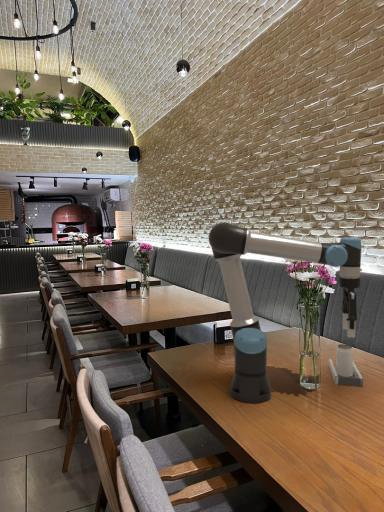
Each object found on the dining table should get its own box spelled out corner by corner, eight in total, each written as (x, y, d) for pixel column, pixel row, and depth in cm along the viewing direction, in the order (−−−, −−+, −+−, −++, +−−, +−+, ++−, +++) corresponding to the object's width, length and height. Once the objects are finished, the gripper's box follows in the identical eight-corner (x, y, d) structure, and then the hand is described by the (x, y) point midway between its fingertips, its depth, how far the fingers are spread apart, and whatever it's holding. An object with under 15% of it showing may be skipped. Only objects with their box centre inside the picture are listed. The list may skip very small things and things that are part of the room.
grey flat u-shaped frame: (362, 386, 147) (363, 378, 147) (335, 384, 149) (335, 376, 149) (352, 367, 166) (352, 360, 166) (328, 365, 169) (328, 359, 168)
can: (354, 378, 155) (354, 349, 154) (337, 376, 156) (338, 348, 155) (350, 372, 161) (351, 344, 160) (334, 370, 162) (335, 343, 161)
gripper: (367, 281, 136) (365, 342, 138) (354, 273, 158) (353, 325, 160) (344, 281, 138) (343, 341, 140) (335, 273, 160) (334, 325, 162)
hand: (348, 333), depth 150 cm, fingers open, 10 cm apart
